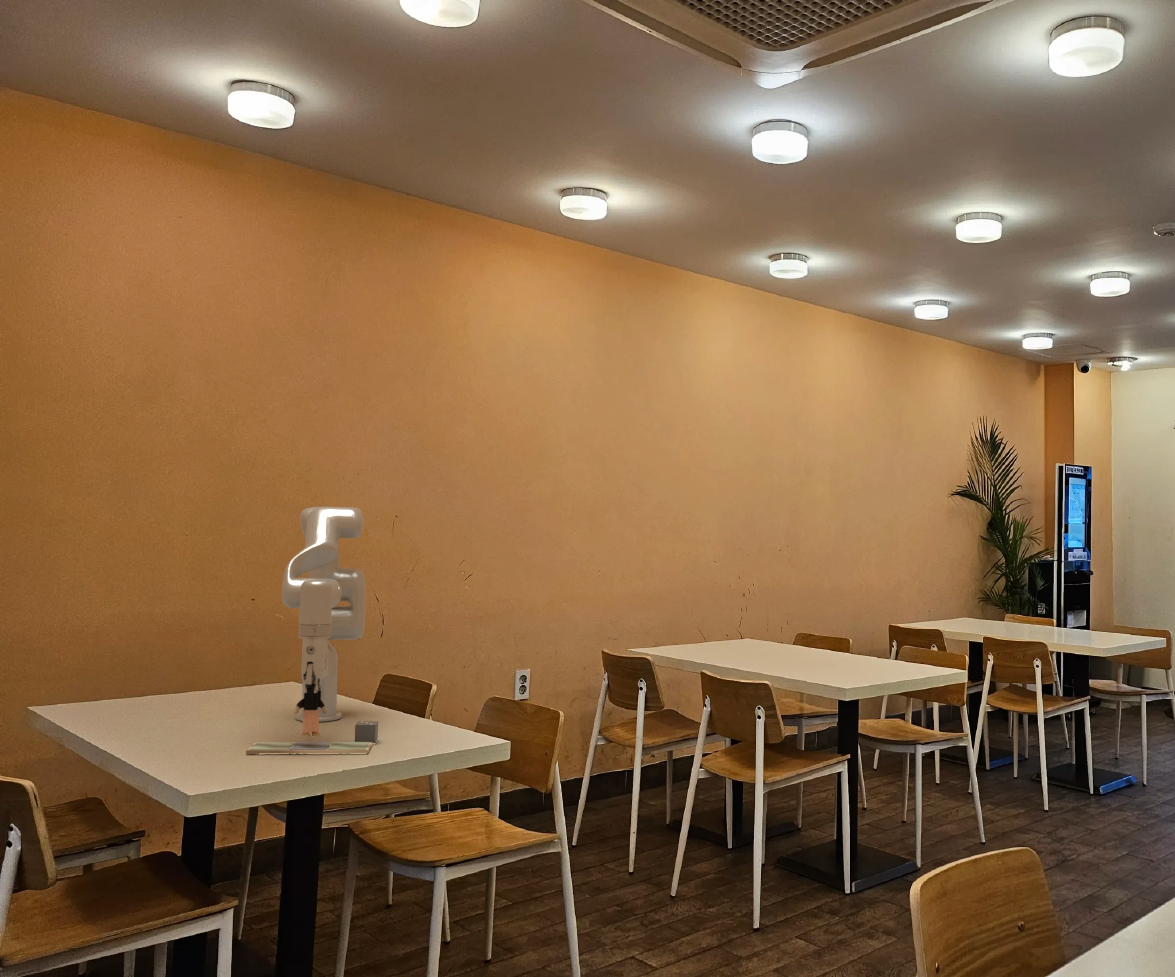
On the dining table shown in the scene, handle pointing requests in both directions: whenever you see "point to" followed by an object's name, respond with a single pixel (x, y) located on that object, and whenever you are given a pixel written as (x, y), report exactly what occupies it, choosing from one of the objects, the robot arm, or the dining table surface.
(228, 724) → the dining table surface
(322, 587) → the robot arm
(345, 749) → the board
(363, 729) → the die
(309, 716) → the grandmother figurine
